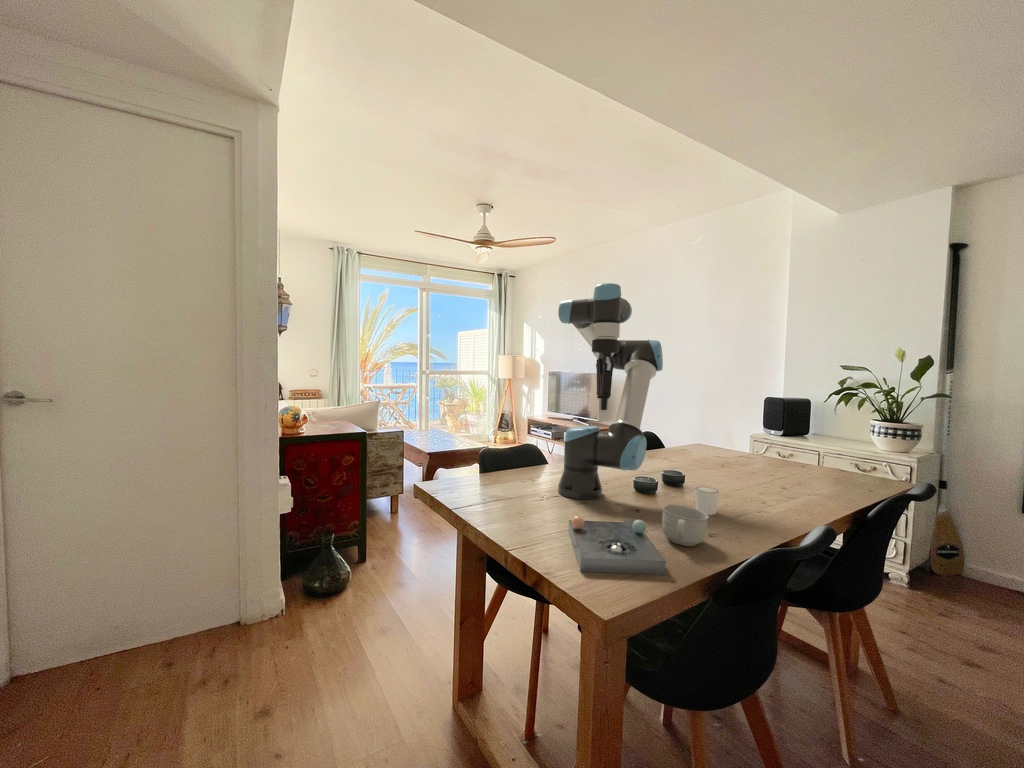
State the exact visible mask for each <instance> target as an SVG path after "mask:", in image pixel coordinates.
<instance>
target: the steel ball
mask: <svg viewBox="0 0 1024 768" xmlns="http://www.w3.org/2000/svg"><path fill="white" fill-rule="evenodd" d="M610 550H613V551H618V552H623V550H622V548H621V547H620V546H618V545H613V546H611V547H610Z"/></svg>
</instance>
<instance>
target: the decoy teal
mask: <svg viewBox="0 0 1024 768" xmlns="http://www.w3.org/2000/svg"><path fill="white" fill-rule="evenodd" d="M632 527H633V530H634V531H635V532H636V533H643V532H644V533H645V531H646V529H647V526H646V523H645V521H644V520H642V519H636V520H634V521H633V525H632Z"/></svg>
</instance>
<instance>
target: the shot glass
mask: <svg viewBox="0 0 1024 768" xmlns="http://www.w3.org/2000/svg"><path fill="white" fill-rule="evenodd" d="M719 495H720V491H719V490H718V489H715V488H712V487H708V486H697V487H695V488H694V498H695V509H698V510H701V511H703V512H705V513H706V514H707V515H708V516H714V515H716V514H717V508H718V502H719ZM713 514H714V515H713Z"/></svg>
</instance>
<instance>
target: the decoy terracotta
mask: <svg viewBox="0 0 1024 768" xmlns="http://www.w3.org/2000/svg"><path fill="white" fill-rule="evenodd" d="M571 520H572V521H571V523H572V526H573V527H574V528H575V529H581V528H583V526H584V521H585V520H584V517H582V516H580V515H575V516H573V518H572V519H571Z"/></svg>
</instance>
